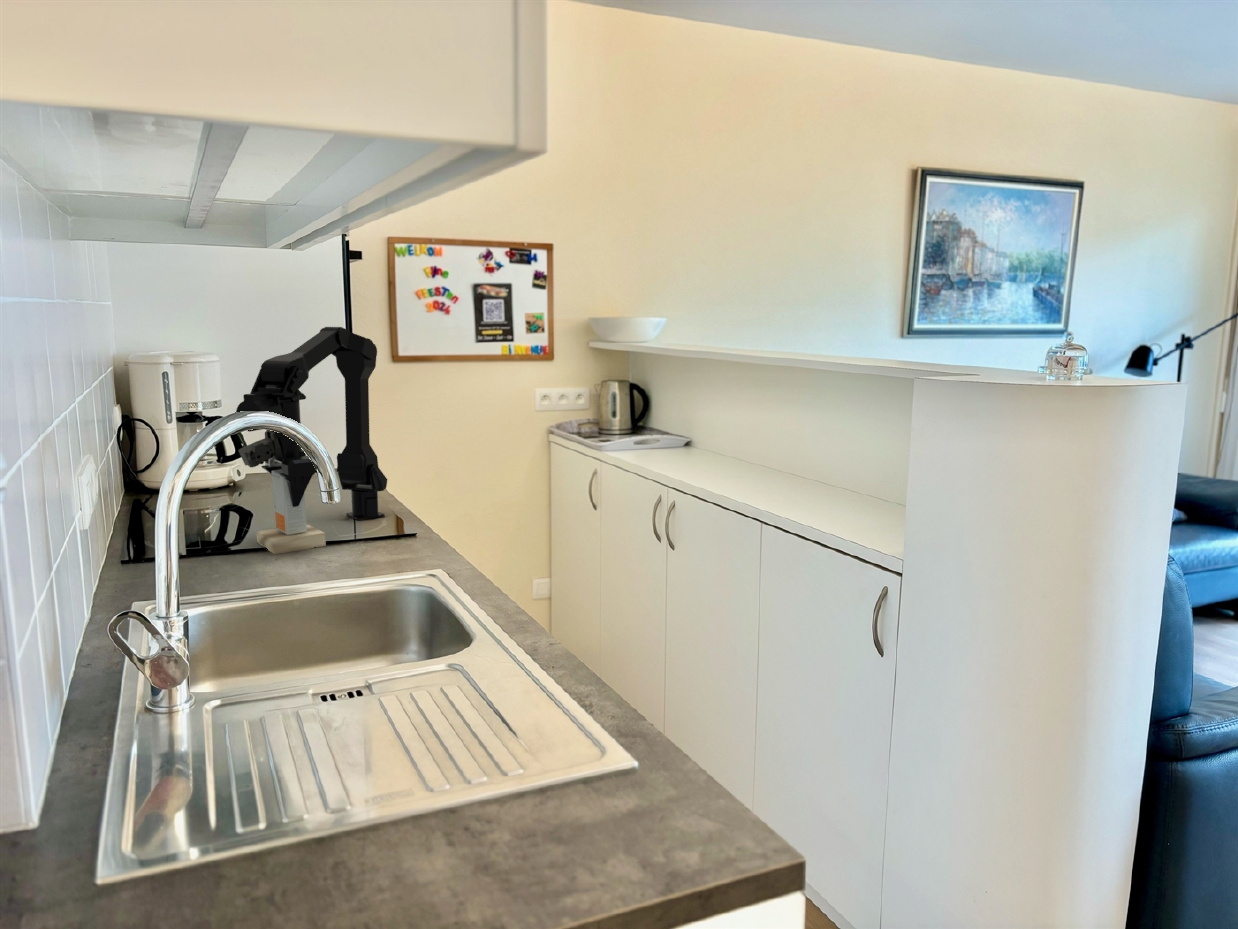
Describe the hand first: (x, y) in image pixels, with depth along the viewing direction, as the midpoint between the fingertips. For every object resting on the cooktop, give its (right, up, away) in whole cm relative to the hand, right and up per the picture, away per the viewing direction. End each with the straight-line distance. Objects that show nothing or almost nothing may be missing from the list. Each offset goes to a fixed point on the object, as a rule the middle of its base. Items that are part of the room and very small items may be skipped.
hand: (289, 503), depth 177 cm
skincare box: (0, -6, +1) cm, 6 cm away
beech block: (0, -9, +1) cm, 9 cm away
